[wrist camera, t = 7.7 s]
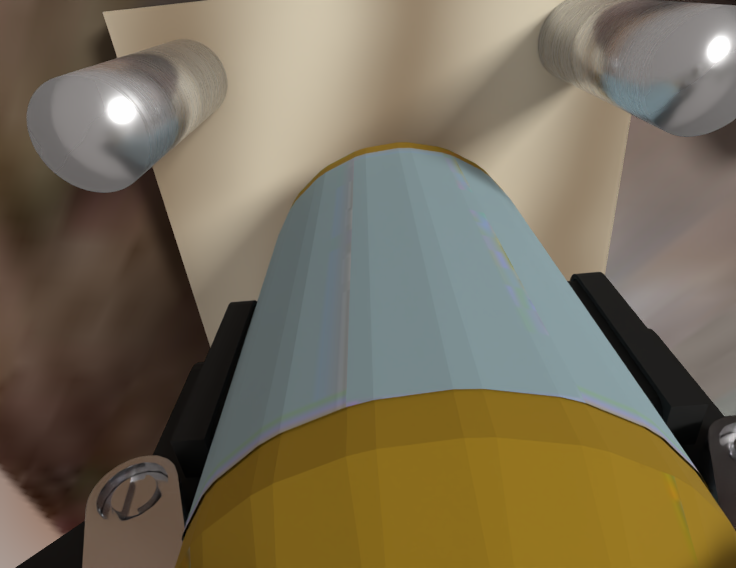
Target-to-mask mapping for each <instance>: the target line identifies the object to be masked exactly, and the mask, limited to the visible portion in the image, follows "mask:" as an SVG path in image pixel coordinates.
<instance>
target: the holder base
mask: <svg viewBox="0 0 736 568" xmlns="http://www.w3.org/2000/svg"><path fill="white" fill-rule="evenodd" d="M564 1H565V0H206V1H197V2H188V3H179V4H170V5H161V6H152V7H143V8H134V9H125V10H116V11H108V12H103V15H104V18H105V21H106V24H107V27H108V30H109V33H110V36H111V40H112V43H113V46H114V49H115V52H116V55H117V58H119V57H122V56H126V55H129V54H132V53H135V52H138V51H142V50H145V49H148V48H151V47H154V46H158V45H161V44H164V43H167V42H170V41H173V40H178V39H191V40H195V41H197V42H200V43H202V44H204V45H205V46H207V47H208V48H210V49H211V50H212V51H213V52H214V53H215V54H216V55H217V57H218V58H219V59H220V61H221V63H222V64H223V67H224V69H225V72H226V75H227V84H228V87H227V93H226V97H225V99H224V101H223V103H222V104H221V106H220V107H219V108H218V109H217V110H216V111H215V112H214V113H212V114H211V115H210V116H209V117H208V118H207V119H206V120H204V121H203V122H202V123H201V124H200V125H199V126H198V127H197V128H195V129H194V130H193V131H192V132H191V133H190V134H189V135H187V136H186V137H185V138H184V139H183V140H182V141H181V142H179V143H178V144H177V145H176V146H175V147H174V148H173V149H171V150H170V151H169V152H168V153H167V154H166V155H165V156H163V157H162V158H161V159H160V160H159V161H158V162H157V163H156V164H154V165H153V166H152V167H153V170H154V173H155V177H156V180H157V183H158V186H159V189H160V192H161V195H162V198H163V201H164V205H165V208H166V211H167V214H168V217H169V220H170V223H171V226H172V229H173V233H174V236H175V239H176V242H177V245H178V248H179V251H180V254H181V257H182V261H183V264H184V267H185V270H186V273H187V276H188V279H189V282H190V285H191V289H192V292H193V295H194V298H195V301H196V304H197V307H198V310H199V313H200V317H201V320H202V323H203V326H204V329H205V332H206V335H207V338H208V341H209V345H210V347H211V345H212V343H213V340H214V338H215V336H216V333H217V331H218V329H219V326H220V324H221V322H222V319H223V317H224V314H225V312H226V310H227V307H228V305H229V304H230V303H231V302H239V301H251V300H256V301H258V298H259V294H260V291H261V288H262V285H263V282H264V279H265V276H266V273H267V269H268V266H269V263H270V260H271V257H272V254H273V251H274V248H275V244H276V241H277V238H278V235H279V233H280V231H281V228H282V226H283V224H284V222H285V219H286V217H287V215H288V213H289V210H290V208H291V206H292V204H293V202H294V200H295V199H296V197H297V196H298V194H299V193H300V192H301V191H302V190H303V189H304V188H305V186H306V185H307V184H308V183H309V182H310V181H311V180H312V179H313V178H314V177H315V176H316V175H317V174H318V173H319V172H320V171H321V170H323V169H324V168H325V167H327V166H328V165H330V164H332V163H334V162H336V161H338V160H339V159H341V158H343V157H345V156H347V155H349V154H351V153H353V152H355V151H358V150H360V149H363V148H367V147H373V146H379V145H384V144H390V143H396V142H410V143H417V144H424V145H431V146H437V147H441V148H444V149H448V150H450V151H452V152H454V153H456V154H458V155H460V156H462V157H464V158H466V159H468V160H470V161H472V162H474V163H476V164H477V165H478V166H480V167H481V168H482V169H484V170H485V171H486V172H487V173H488V175H489V176H490V177H491V178H492V179H493V180H494V181H495V182H496V183H497V184H498V185H499V186H500V187H501V189H502V190H503V191H504V192H505V194H506V195H507V196H508V197H509V198H510V199H511V201H512V202H513V204H514V205H515V206H516V208H517V209H518V211H519V212H520V214H521V215H522V217H523V218H524V220H525V221H526V222H527V224H528V225H529V227H530V228H531V230H532V231H533V233H534V234H535V235H536V237H537V238H538V240H539V241H540V243H541V244H542V246H543V247H544V248H545V250H546V251H547V253H548V254H549V256H550V257H551V259H552V260H553V262H554V263H555V264H556V266H557V267H558V269H559V270H560V272H561V273H562V275H563V276H564V277H565V279H566V280H567V281H570V278H571V276H572V275H573V274H579V273H591V272H602V273H603V274H604V275H605V270H606V264H607V258H608V252H609V246H610V239H611V233H612V227H613V221H614V215H615V209H616V203H617V197H618V191H619V185H620V179H621V173H622V167H623V161H624V155H625V149H626V143H627V137H628V131H629V125H630V119H631V114H629V113H627V112H625V111H623V110H621V109H619V108H617V107H615V106H613V105H611V104H609V103H607V102H605V101H603V100H601V99H599V98H597V97H595V96H593V95H591V94H589V93H587V92H585V91H583V90H581V89H579V88H577V87H575V86H573V85H571V84H569V83H567V82H565V81H563V80H561V79H559V78H557V77H555V76H553V75H552V74H550V73H549V72H548V71H547V70H546V69H545V68H544V67H543V65H542V63H541V61H540V58H539V55H538V37H539V33H540V30H541V27H542V25H543V23H544V21H545V19H546V18H547V16H548V15H549V14H550V12H551V11H552V10H553V9H554V8H555V7H557V6H558V5H559V4H560V3H562V2H564Z"/></svg>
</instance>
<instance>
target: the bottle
mask: <svg viewBox="0 0 736 568" xmlns="http://www.w3.org/2000/svg"><path fill="white" fill-rule="evenodd" d="M187 526H188V527H187ZM186 527H187V531H186V534H185V537H184V540H183V543H182V546H181V550H180V553H179V556H178V559H177V562H176V565H175V568H736V531H735V529H734V528H733V526H732V524H731V523H730V521H729V520H728V518H727V517H726V515H725V514H724V512H723V511H722V509H721V508H720V507H719V505H718V504H717V502H716V501H715V499H714V498H713V496H712V495H711V493H710V492H709V489H708V486H707V484H706V483H705V481H704V480H703V478H702V476H701V475H700V473H699V472H698V470H697V469H696V467H695V466H694V464H693V463H692V461H691V460H690V458H689V457H688V456H687V454H686V453H685V451H684V450H683V448H682V447H681V445H680V444H679V443H678V441H677V440H676V438H675V437H674V435H673V434H672V432H671V431H670V430H669V428H668V427H667V425H666V424H665V422H664V421H663V419H662V418H661V416H660V415H659V414H658V412H657V411H656V409H655V408H654V406H653V405H652V403H651V402H650V401H649V399H648V398H647V396H646V395H645V393H644V392H643V390H642V389H641V388H640V386H639V385H638V383H637V382H636V380H635V379H634V377H633V376H632V374H631V373H630V372H629V370H628V369H627V367H626V366H625V364H624V363H623V361H622V360H621V359H620V357H619V356H618V354H617V353H616V351H615V350H614V348H613V347H612V346H611V344H610V343H609V341H608V340H607V338H606V337H605V335H604V334H603V332H602V331H601V330H600V328H599V327H598V325H597V324H596V322H595V321H594V319H593V318H592V317H591V315H590V314H589V312H588V311H587V309H586V308H585V306H584V305H583V304H582V302H581V301H580V299H579V298H578V296H577V295H576V293H575V292H574V290H573V289H572V288H571V286H570V285H569V283H568V282H567V280H566V279H565V277H564V276H563V275H562V273H561V272H560V270H559V269H558V267H557V266H556V264H555V263H554V262H553V260H552V259H551V257H550V256H549V254H548V253H547V251H546V250H545V248H544V247H543V246H542V244H541V243H540V241H539V240H538V238H537V237H536V235H535V234H534V233H533V231H532V230H531V228H530V227H529V225H528V224H527V222H526V221H525V220H524V218H523V217H522V215H521V214H520V212H519V211H518V209H517V208H516V206H515V205H514V204H513V202H512V201H511V199H510V198H509V197H508V196H507V195H506V194H505V192H504V191H503V190H502V189H501V187H500V186H499V185H498V184H497V183H496V182H495V181H494V180H493V179H492V178H491V177H490V176H489V175H488V173H487V172H486V171H485V170H484V169H482V168H481V167H480V166H478V165H477V164H476V163H474V162H472V161H470V160H468V159H466V158H464V157H462V156H460V155H458V154H456V153H454V152H452V151H450V150H448V149H444V148H441V147H437V146H431V145H424V144H417V143H410V142H396V143H390V144H384V145H379V146H373V147H367V148H363V149H360V150H358V151H355V152H353V153H351V154H349V155H347V156H345V157H343V158H341V159H339V160H338V161H336V162H334V163H332V164H330V165H328V166H327V167H325V168H324V169H323V170H321V171H320V172H319V173H318V174H317V175H316V176H315V177H314V178H313V179H312V180H311V181H310V182H309V183H308V184H307V185H306V186H305V188H304V189H303V190H302V191H301V192H300V193H299V194H298V196H297V197H296V199H295V200H294V202H293V204H292V206H291V208H290V210H289V213H288V215H287V217H286V219H285V222H284V224H283V226H282V228H281V231H280V233H279V235H278V238H277V241H276V244H275V248H274V251H273V254H272V257H271V260H270V263H269V266H268V269H267V273H266V276H265V279H264V282H263V285H262V288H261V291H260V294H259V298H258V301H257V304H256V307H255V310H254V313H253V316H252V320H251V323H250V326H249V329H248V332H247V335H246V338H245V341H244V345H243V348H242V351H241V354H240V357H239V360H238V363H237V366H236V369H235V373H234V376H233V379H232V382H231V385H230V388H229V391H228V394H227V398H226V401H225V404H224V407H223V410H222V413H221V416H220V419H219V423H218V426H217V429H216V432H215V435H214V438H213V441H212V444H211V447H210V450H209V454H208V457H207V460H206V463H205V466H204V469H203V472H202V475H201V479H200V482H199V485H198V488H197V491H196V494H195V497H194V500H193V503H192V507H191V510H190V513H189V516H188V519H187V522H186V525H185V528H184V531H185V529H186ZM183 534H184V532H183ZM182 537H183V535H182Z"/></svg>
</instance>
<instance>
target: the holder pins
mask: <svg viewBox="0 0 736 568" xmlns="http://www.w3.org/2000/svg"><path fill="white" fill-rule="evenodd" d="M538 55H539V58H540V61H541V63H542V65H543V67H544V68H545V69H546V70H547V71H548V72H549V73H550V74H552V75H553V76H555V77H557V78H559V79H561V80H563V81H565V82H567V83H569V84H571V85H573V86H575V87H577V88H579V89H581V90H583V91H585V92H587V93H589V94H591V95H593V96H595V97H597V98H599V99H601V100H603V101H605V102H607V103H609V104H611V105H613V106H615V107H617V108H619V109H621V110H623V111H625V112H627V113H629V114H631V115H634V116H636V117H638V118H640V119H642V120H644V121H646V122H648V123H650V124H652V125H654V126H656V127H658V128H660V129H662V130H664V131H666V132H668V133H670V134H673V135H677V136H684V137H692V136H700V135H704V134H708V133H711V132H713V131H716V130H718V129H720V128H722V127H724V126H726V125H727V124H729V123H730V122H732V121H733V120H734V119H736V6H735V5H721V4H706V3H691V2H676V1H661V0H565V1H564V2H562V3H560V4H559V5H558V6H557V7H555V8H554V9H553V10H552V11H551V12H550V14H549V15H548V16H547V18H546V19H545V21H544V23H543V25H542V27H541V30H540V33H539V37H538ZM227 87H228V84H227V75H226V72H225V69H224V67H223V64H222V63H221V61H220V59H219V58H218V57H217V55H216V54H215V53H214V52H213V51H212V50H211V49H210V48H208V47H207V46H205V45H204V44H202V43H200V42H197V41H195V40H191V39H178V40H173V41H170V42H167V43H164V44H161V45H158V46H154V47H151V48H148V49H145V50H142V51H138V52H135V53H132V54H129V55H126V56H122V57H119V58H116V59H113V60H110V61H107V62H103V63H100V64H97V65H94V66H91V67H87V68H84V69H81V70H78V71H75V72H71V73H68V74H65V75H62V76H59V77H56V78H53V79H50V80H48V81H47V82H45V83H43V84H42V85H41V86H40V87H39V88H38V89H37V90H36V91H35V92H34V94H33V96H32V97H31V100H30V102H29V105H28V110H27V127H28V132H29V136H30V138H31V141H32V144H33V146H34V148H35V150H36V151H37V153H38V154H39V156H40V158H41V159H42V160H43V161H44V163H45V164H46V165H47V166H48V167H49V168H50V169H51V170H52V171H53V172H54V173H55V174H57V175H58V176H59V177H61V178H62V179H63V180H65V181H67V182H68V183H70V184H72V185H74V186H76V187H79V188H81V189H84V190H88V191H92V192H101V193H106V192H115V191H119V190H122V189H124V188H126V187H128V186H130V185H131V184H133V183H134V182H135V181H136V180H137V179H138V178H140V177H141V176H142V175H143V174H144V173H145V172H146V171H148V170H149V169H150V168H151V167H152V166H153V165H154V164H156V163H157V162H158V161H159V160H160V159H161V158H162V157H163V156H165V155H166V154H167V153H168V152H169V151H170V150H171V149H173V148H174V147H175V146H176V145H177V144H178V143H179V142H181V141H182V140H183V139H184V138H185V137H186V136H187V135H189V134H190V133H191V132H192V131H193V130H194V129H195V128H197V127H198V126H199V125H200V124H201V123H202V122H203V121H204V120H206V119H207V118H208V117H209V116H210V115H211V114H212V113H214V112H215V111H216V110H217V109H218V108H219V107H220V106H221V104H222V103H223V101H224V99H225V97H226V93H227Z"/></svg>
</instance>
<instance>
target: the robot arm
mask: <svg viewBox="0 0 736 568" xmlns="http://www.w3.org/2000/svg"><path fill="white" fill-rule="evenodd" d="M567 282H568V283H569V285H570V286H571V288H572V289H573V290H574V292H575V293H576V295H577V296H578V298H579V299H580V301H581V302H582V304H583V305H584V306H585V308H586V309H587V311H588V312H589V314H590V315H591V317H592V318H593V319H594V321H595V322H596V324H597V325H598V327H599V328H600V330H601V331H602V332H603V334H604V335H605V337H606V338H607V340H608V341H609V343H610V344H611V346H612V347H613V348H614V350H615V351H616V353H617V354H618V356H619V357H620V359H621V360H622V361H623V363H624V364H625V366H626V367H627V369H628V370H629V372H630V373H631V374H632V376H633V377H634V379H635V380H636V382H637V383H638V385H639V386H640V388H641V389H642V390H643V392H644V393H645V395H646V396H647V398H648V399H649V401H650V402H651V403H652V405H653V406H654V408H655V409H656V411H657V412H658V414H659V415H660V416H661V418H662V419H663V421H664V422H665V424H666V425H667V427H668V428H669V430H670V431H671V432H672V434H673V435H674V437H675V438H676V440H677V441H678V443H679V444H680V445H681V447H682V448H683V450H684V451H685V453H686V454H687V456H688V457H689V458H690V460H691V461H692V463H693V464H694V466H695V467H696V469H697V470H698V472H699V473H700V475H701V476H702V478H703V480H704V481H705V483H706V484H707V486H708V489H709V492H710V493H711V495H712V496H713V498H714V499H715V501H716V502H717V504H718V505H719V507H720V508H721V509H722V511H723V512H724V514H725V515H726V517H727V518H728V520H729V521H730V523H731V524H732V526H733V528H734V529H735V531H736V415H734V416H726V417H724V416H723V414H722V413H721V412H720V411H719V409H718V408H717V407H716V406H715V405H714V403H713V402H712V401H711V400H710V398H709V397H708V396H707V395H706V394H705V392H704V391H703V390H702V389H701V387H700V386H699V385H698V384H697V383H696V381H695V380H694V379H693V378H692V376H691V375H690V374H689V373H688V372H687V370H686V369H685V368H684V367H683V365H682V364H681V363H680V362H679V361H678V359H677V358H676V357H675V356H674V355H673V353H672V352H671V351H670V350H669V348H668V347H667V346H666V345H665V344H664V342H663V341H662V340H661V339H660V337H659V336H658V335H657V334H656V333H655V332H654V331H653V330H652V329H648V328H647V327H646V326H645V325H644V323H643V322H642V321H641V320H640V318H639V317H638V316H637V315H636V313H635V312H634V311H633V310H632V309H631V307H630V306H629V305H628V304H627V302H626V301H625V300H624V299H623V297H622V296H621V295H620V294H619V292H618V291H617V290H616V289H615V287H614V286H613V285H612V284H611V282H610V281H609V280H608V279H607V278H606V276H605V275H604V274H603V273H602V272H591V273H579V274H573V275H572V276H571V278H570V281H567ZM256 304H257V301H256V300H251V301H239V302H231V303H230V304H229V305H228V307H227V310H226V312H225V314H224V317H223V319H222V322H221V324H220V326H219V329H218V331H217V333H216V336H215V338H214V340H213V343H212V345H211V347H210V350H209V352H208V354H207V357H206V359H205V361H204V362H198V363H196V364H195V365H194V366H193V368H192V369H191V371H190V374H189V376H188V378H187V380H186V383H185V385H184V387H183V389H182V391H181V394H180V396H179V398H178V400H177V403H176V405H175V407H174V409H173V411H172V414H171V416H170V418H169V420H168V422H167V425H166V427H165V429H164V431H163V434H162V436H161V438H160V440H159V442H158V445H157V447H156V449H155V451H154V454H153V456H142V457H138V458H134V459H131V460H129V461H127V462H124V463H122V464H120V465H118V466H117V467H115V468H114V469H113V470H111V471H110V472H108V473H107V474H106V475H105V476H104V477H103V478H102V479H101V480H100V481H99V482H98V483H97V484H96V486H95V487H94V489H93V490H92V492H91V494H90V495H89V498H88V502H87V506H86V514H85V521H84V522H82V523H81V524H79V525H78V526H76V527H75V528H74V529H72V530H71V531H69V532H68V533H66V534H65V535H63V536H62V537H60V538H59V539H57V540H56V541H54V542H53V543H51V544H50V545H48V546H47V547H45V548H44V549H42V550H41V551H39V552H38V553H36V554H35V555H34V556H32V557H30V558H29V559H28V560H26V561H25V562H23V563H22V564H20V565H19V566H17V567H16V568H175V565H176V562H177V559H178V556H179V553H180V550H181V546H182V543H183V540H184V537H185V534H186V531H187V527H188V526H187V527H186V529H185V531H184V528H185V525H186V522H187V519H188V516H189V513H190V510H191V507H192V503H193V500H194V497H195V494H196V491H197V488H198V485H199V482H200V479H201V475H202V472H203V469H204V466H205V463H206V460H207V457H208V454H209V450H210V447H211V444H212V441H213V438H214V435H215V432H216V429H217V426H218V423H219V419H220V416H221V413H222V410H223V407H224V404H225V401H226V398H227V394H228V391H229V388H230V385H231V382H232V379H233V376H234V373H235V369H236V366H237V363H238V360H239V357H240V354H241V351H242V348H243V345H244V341H245V338H246V335H247V332H248V329H249V326H250V323H251V320H252V316H253V313H254V310H255V307H256ZM183 532H184V534H183ZM182 535H183V537H182Z"/></svg>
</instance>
